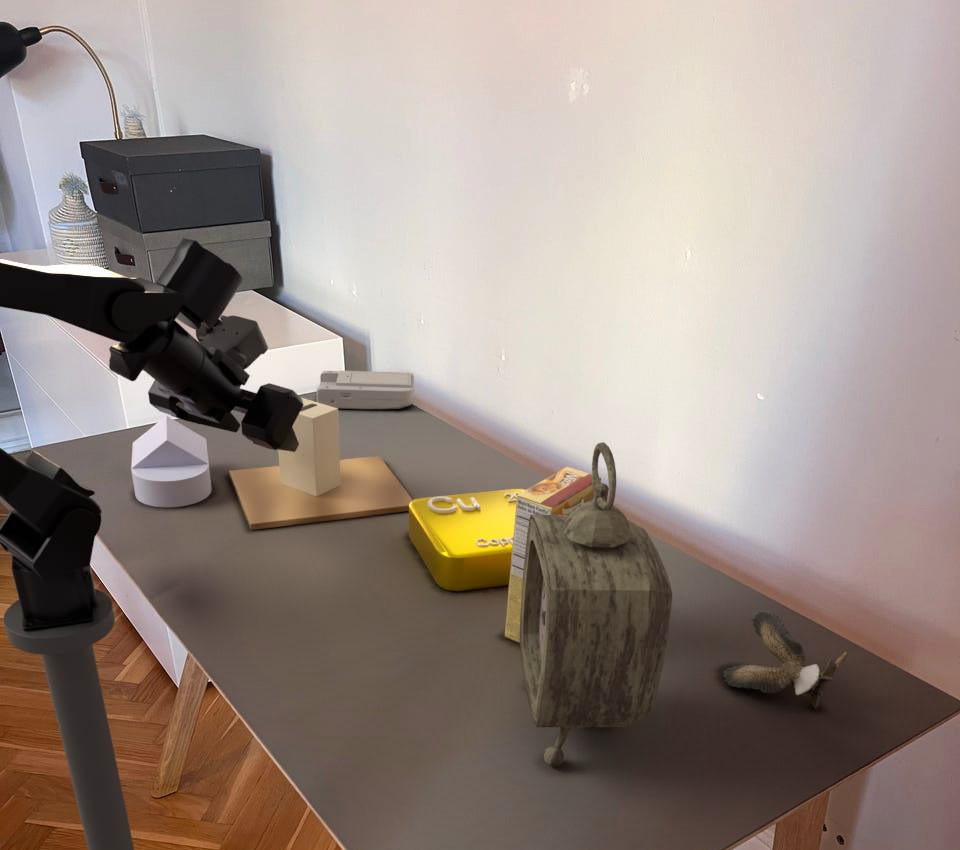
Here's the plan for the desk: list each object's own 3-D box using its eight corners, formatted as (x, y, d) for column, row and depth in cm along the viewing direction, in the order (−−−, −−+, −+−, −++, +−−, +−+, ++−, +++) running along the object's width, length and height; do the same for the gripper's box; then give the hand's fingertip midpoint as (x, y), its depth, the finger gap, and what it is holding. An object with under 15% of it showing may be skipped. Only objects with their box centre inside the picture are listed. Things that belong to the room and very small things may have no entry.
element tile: (441, 595, 98) (443, 554, 96) (404, 531, 110) (404, 494, 107) (573, 578, 103) (578, 538, 100) (524, 519, 114) (527, 482, 112)
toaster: (316, 496, 115) (313, 417, 110) (280, 484, 118) (275, 406, 112) (347, 482, 119) (344, 405, 114) (311, 470, 122) (307, 394, 116)
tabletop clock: (514, 675, 86) (536, 412, 73) (611, 675, 87) (651, 415, 74) (533, 781, 74) (564, 489, 61) (646, 780, 75) (700, 491, 62)
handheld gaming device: (413, 369, 150) (413, 393, 152) (320, 367, 149) (321, 390, 151) (413, 386, 143) (413, 411, 144) (315, 384, 141) (316, 409, 143)
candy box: (550, 602, 98) (564, 464, 90) (585, 616, 96) (603, 476, 88) (502, 638, 92) (513, 493, 84) (539, 653, 90) (554, 507, 82)
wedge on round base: (136, 467, 122) (134, 509, 111) (128, 417, 118) (125, 456, 108) (208, 463, 124) (213, 504, 114) (203, 413, 121) (207, 451, 110)
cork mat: (250, 530, 108) (250, 524, 108) (229, 476, 121) (228, 470, 120) (416, 510, 115) (416, 504, 115) (379, 461, 128) (379, 455, 127)
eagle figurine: (839, 669, 88) (751, 623, 91) (857, 639, 81) (762, 590, 84) (800, 735, 86) (712, 686, 89) (815, 709, 79) (719, 657, 82)
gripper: (285, 312, 92) (360, 395, 106) (155, 281, 100) (240, 361, 114) (232, 411, 90) (315, 482, 104) (105, 370, 99) (197, 441, 112)
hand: (266, 438), depth 109 cm, fingers open, 9 cm apart
